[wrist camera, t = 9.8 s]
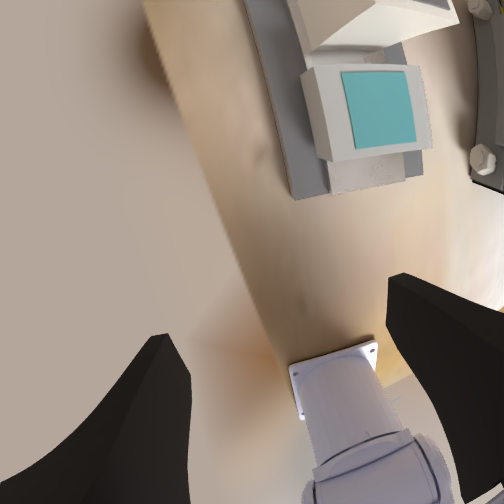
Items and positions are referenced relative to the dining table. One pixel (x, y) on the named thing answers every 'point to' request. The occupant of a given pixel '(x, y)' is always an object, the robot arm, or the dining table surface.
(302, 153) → the plate
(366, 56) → the din rail
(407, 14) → the block
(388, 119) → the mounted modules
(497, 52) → the electrical component
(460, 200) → the dining table surface
